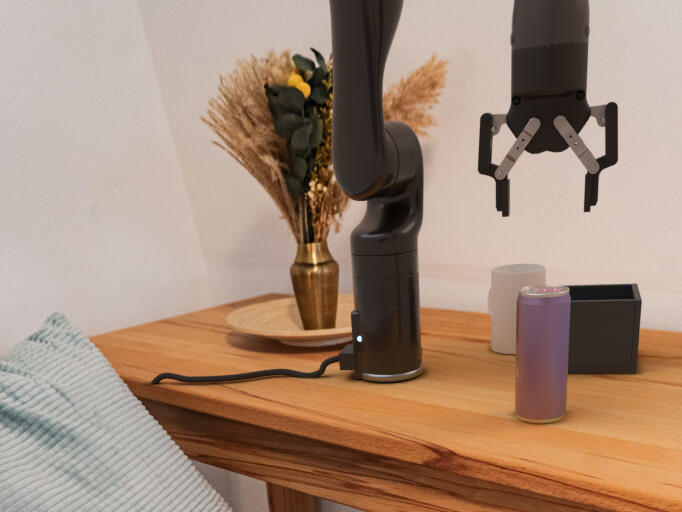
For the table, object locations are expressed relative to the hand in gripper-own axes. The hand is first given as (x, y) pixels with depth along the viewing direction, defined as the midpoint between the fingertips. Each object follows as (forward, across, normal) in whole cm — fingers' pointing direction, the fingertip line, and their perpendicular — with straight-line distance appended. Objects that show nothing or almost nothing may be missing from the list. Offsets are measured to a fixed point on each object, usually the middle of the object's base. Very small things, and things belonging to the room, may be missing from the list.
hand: (545, 213), depth 91 cm
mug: (+23, +6, -34) cm, 42 cm away
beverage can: (+23, 0, 0) cm, 23 cm away
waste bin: (+23, -6, -24) cm, 34 cm away
